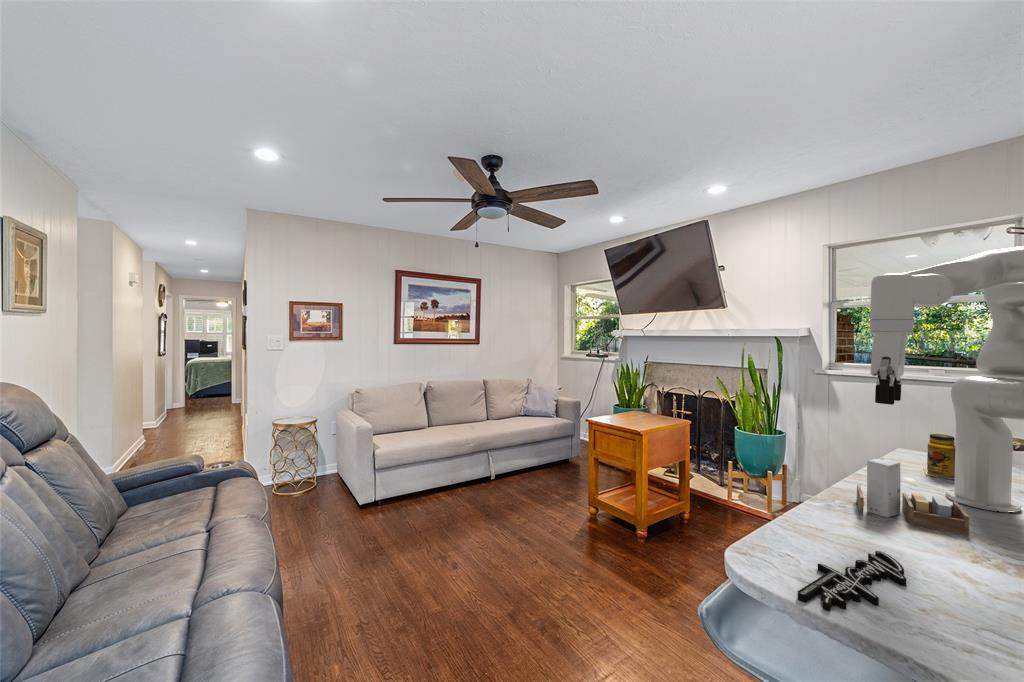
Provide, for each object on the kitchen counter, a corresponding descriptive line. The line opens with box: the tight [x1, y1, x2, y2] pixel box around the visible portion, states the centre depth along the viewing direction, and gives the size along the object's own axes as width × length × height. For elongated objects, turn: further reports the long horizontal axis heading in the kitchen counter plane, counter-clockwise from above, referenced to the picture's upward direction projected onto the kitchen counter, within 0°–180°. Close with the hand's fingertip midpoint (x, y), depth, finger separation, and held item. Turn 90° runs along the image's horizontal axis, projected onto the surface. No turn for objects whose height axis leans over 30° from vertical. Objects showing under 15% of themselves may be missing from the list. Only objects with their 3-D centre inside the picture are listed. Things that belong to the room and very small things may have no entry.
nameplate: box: [797, 550, 907, 612], centre depth 72 cm, size 28×2×10 cm
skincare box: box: [866, 457, 901, 518], centre depth 100 cm, size 6×4×12 cm
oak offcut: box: [910, 492, 929, 513], centre depth 96 cm, size 6×2×5 cm, turn 144°
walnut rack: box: [856, 484, 970, 537], centre depth 97 cm, size 10×18×4 cm, turn 54°
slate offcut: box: [931, 495, 951, 517], centre depth 94 cm, size 6×2×5 cm, turn 144°
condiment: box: [923, 433, 956, 480], centre depth 127 cm, size 7×8×12 cm
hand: (888, 401), depth 98 cm, fingers open, 9 cm apart
